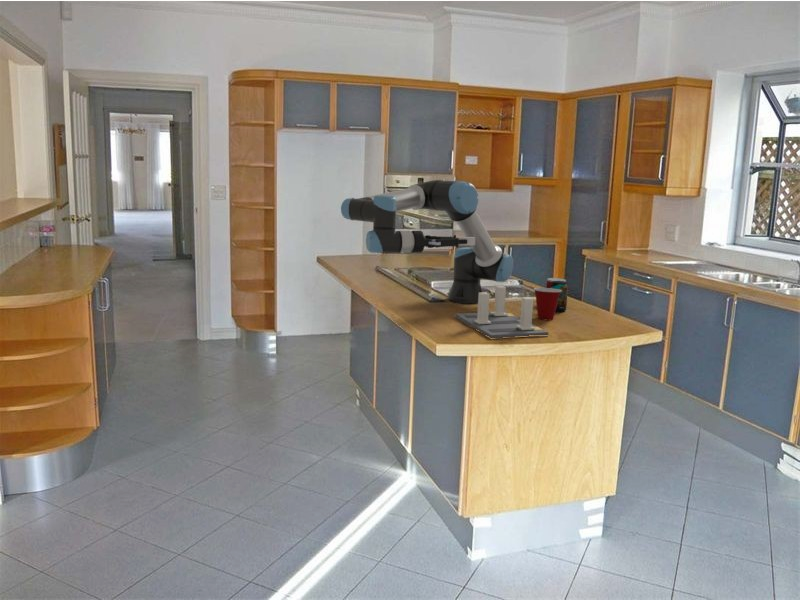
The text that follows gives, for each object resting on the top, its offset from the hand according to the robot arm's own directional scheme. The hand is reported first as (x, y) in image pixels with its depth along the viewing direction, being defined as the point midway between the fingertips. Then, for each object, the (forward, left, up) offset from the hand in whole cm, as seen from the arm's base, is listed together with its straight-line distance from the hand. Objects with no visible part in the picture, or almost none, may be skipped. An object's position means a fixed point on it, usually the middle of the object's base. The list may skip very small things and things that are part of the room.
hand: (474, 241), depth 250 cm
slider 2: (-12, +17, -30) cm, 37 cm away
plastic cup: (-10, +36, -32) cm, 50 cm away
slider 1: (-1, +5, -30) cm, 31 cm away
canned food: (-33, +53, -32) cm, 71 cm away
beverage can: (-22, +48, -32) cm, 62 cm away
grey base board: (-1, +12, -32) cm, 34 cm away
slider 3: (+10, +17, -30) cm, 36 cm away
